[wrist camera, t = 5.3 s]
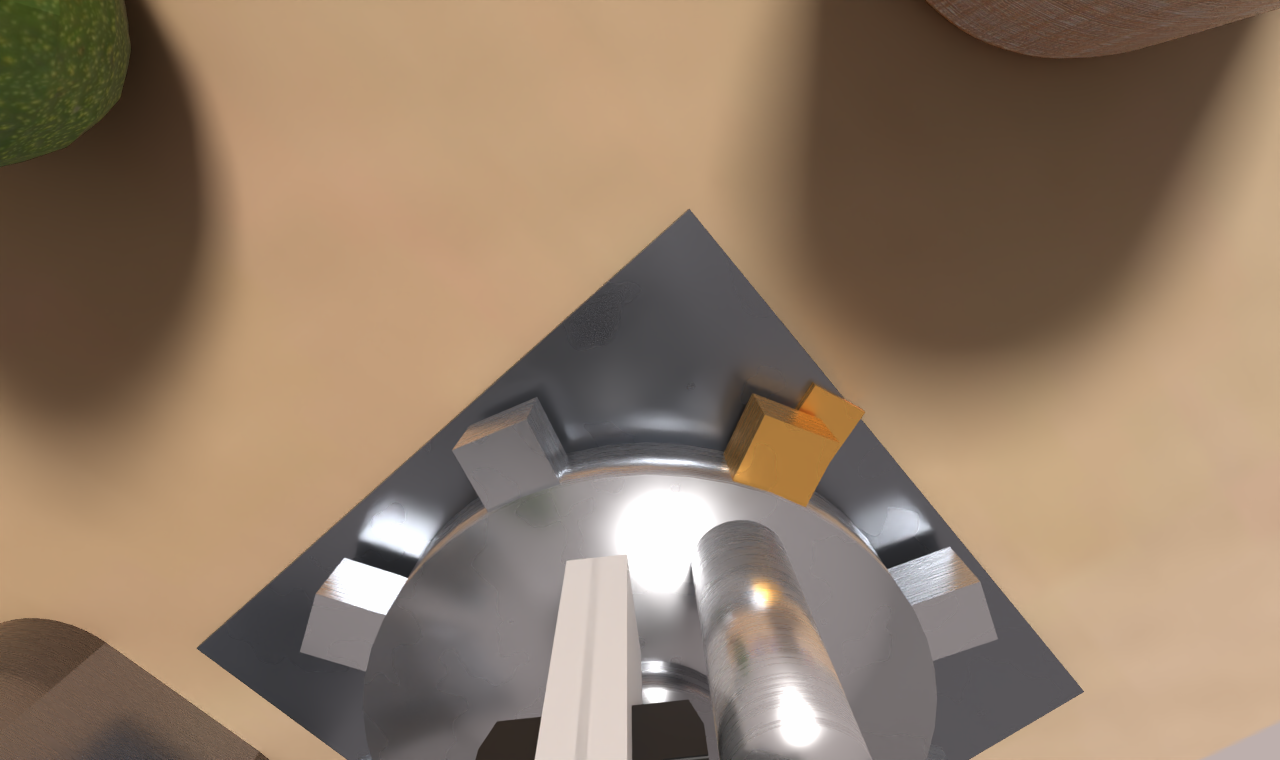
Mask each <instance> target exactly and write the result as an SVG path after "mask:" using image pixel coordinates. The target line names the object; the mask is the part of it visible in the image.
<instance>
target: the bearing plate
mask: <svg viewBox="0 0 1280 760" xmlns="http://www.w3.org/2000/svg"><path fill="white" fill-rule="evenodd" d="M752 393H754V394H756V395H759V396H762V397H764V398H767V399H769V400H772V401H775V402H777V403H780V404H783V405H785V406H788V407H790V408H793V409H796V410H798V411H801V412H804V413H806V414H809V415H811V416H814V417H817V418H819V419H821V420H822V421H823V423H824V424H825V425H826V426H827V428H828V429H829V430H830V431H831V432H832V434H833V435H834V436H835V437H836V439H837V440H838V441H839V442H840V444H839V446H838V448H837V450H836V452H835V454H834V456H833V457H832V459H831V461H830V463H829V465H828V467H827V469H826V471H825V472H824V474H823V476H822V478H821V480H820V482H819V484H818V485H817V487H816V489H815V491H816V492H818V493H819V494H821V495H822V496H823V497H824V498H826V499H827V500H828V501H829V502H830V503H832V504H833V505H834V506H835V507H837V508H838V509H839V510H840V511H841V512H843V513H844V514H845V515H846V516H847V517H848V518H849V519H850V520H851V522H852V523H853V524H854V525H855V526H856V527H857V528H858V529H859V530H860V531H861V533H862V534H863V535H864V536H865V537H866V538H867V539H868V541H869V542H870V544H871V545H872V547H873V549H874V550H875V552H876V553H877V555H878V556H879V558H880V559H881V561H882V562H883V564H884V565H885V567H886V568H887V569H889V568H892V567H894V566H897V565H900V564H903V563H906V562H908V561H911V560H914V559H917V558H920V557H922V556H925V555H928V554H931V553H933V552H936V551H939V550H942V549H945V548H947V547H950V548H951V549H952V550H953V551H954V552H955V553H956V554H957V556H958V557H959V558H960V559H961V560H962V561H963V562H964V564H965V565H966V566H967V567H968V568H969V569H970V570H971V571H972V573H973V574H974V575H975V576H976V577H977V578H978V579H979V581H980V582H981V585H982V589H983V592H984V595H985V598H986V602H987V605H988V608H989V611H990V615H991V618H992V621H993V624H994V628H995V631H996V634H997V638H998V639H997V640H994V641H991V642H988V643H985V644H982V645H979V646H976V647H973V648H970V649H967V650H964V651H961V652H958V653H955V654H952V655H949V656H946V657H943V658H940V659H938V660H935V661H933V664H934V668H935V678H936V690H937V707H936V718H935V729H934V733H933V736H932V740H931V744H933V745H936V746H939V747H941V748H942V750H943V752H944V753H945V755H946V757H947V759H948V760H969V759H971V758H972V757H974V756H976V755H978V754H979V753H981V752H983V751H984V750H986V749H988V748H989V747H991V746H993V745H995V744H996V743H998V742H1000V741H1001V740H1003V739H1005V738H1006V737H1008V736H1010V735H1012V734H1013V733H1015V732H1017V731H1018V730H1020V729H1022V728H1023V727H1025V726H1027V725H1029V724H1030V723H1032V722H1034V721H1035V720H1037V719H1039V718H1040V717H1042V716H1044V715H1045V714H1047V713H1049V712H1051V711H1052V710H1054V709H1056V708H1057V707H1059V706H1061V705H1062V704H1064V703H1066V702H1068V701H1069V700H1071V699H1073V698H1074V697H1076V696H1078V695H1079V694H1081V693H1083V692H1084V691H1083V690H1082V689H1081V687H1080V686H1079V685H1078V684H1077V682H1076V681H1075V680H1074V679H1073V678H1072V676H1071V675H1070V674H1069V673H1068V671H1067V670H1066V669H1065V668H1064V667H1063V665H1062V664H1061V663H1060V662H1059V660H1058V659H1057V658H1056V657H1055V656H1054V654H1053V653H1052V652H1051V651H1050V649H1049V648H1048V647H1047V646H1046V645H1045V643H1044V642H1043V641H1042V640H1041V638H1040V637H1039V636H1038V635H1037V634H1036V632H1035V631H1034V630H1033V629H1032V627H1031V626H1030V625H1029V624H1028V623H1027V621H1026V620H1025V619H1024V618H1023V616H1022V615H1021V614H1020V613H1019V612H1018V610H1017V609H1016V608H1015V607H1014V605H1013V604H1012V603H1011V602H1010V601H1009V599H1008V598H1007V597H1006V596H1005V594H1004V593H1003V592H1002V591H1001V590H1000V588H999V587H998V586H997V585H996V583H995V582H994V581H993V580H992V579H991V577H990V576H989V575H988V574H987V572H986V571H985V570H984V569H983V568H982V566H981V565H980V564H979V563H978V561H977V560H976V559H975V558H974V557H973V555H972V554H971V553H970V552H969V550H968V549H967V548H966V547H965V546H964V544H963V543H962V542H961V541H960V539H959V538H958V537H957V536H956V535H955V533H954V532H953V531H952V530H951V528H950V527H949V526H948V525H947V524H946V522H945V521H944V520H943V519H942V517H941V516H940V515H939V514H938V513H937V511H936V510H935V509H934V508H933V506H932V505H931V504H930V503H929V502H928V500H927V499H926V498H925V497H924V495H923V494H922V493H921V492H920V491H919V489H918V488H917V487H916V486H915V484H914V483H913V482H912V481H911V480H910V478H909V477H908V476H907V475H906V473H905V472H904V471H903V470H902V469H901V467H900V466H899V465H898V464H897V462H896V461H895V460H894V459H893V458H892V456H891V455H890V454H889V453H888V451H887V450H886V449H885V448H884V447H883V445H882V444H881V443H880V442H879V440H878V439H877V438H876V437H875V436H874V434H873V433H872V432H871V431H870V429H869V428H868V427H867V426H866V425H865V423H864V422H863V421H862V420H861V418H862V416H863V415H864V413H865V412H864V411H863V410H862V409H861V408H859V407H858V406H856V405H854V404H852V403H850V402H849V401H847V400H845V399H844V398H843V396H842V395H841V394H840V393H839V392H838V390H837V389H836V388H835V387H834V385H833V384H832V383H831V382H830V381H829V379H828V378H827V377H826V376H825V374H824V373H823V372H822V371H821V370H820V368H819V367H818V366H817V365H816V363H815V362H814V361H813V360H812V359H811V357H810V356H809V355H808V354H807V352H806V351H805V350H804V349H803V348H802V346H801V345H800V344H799V343H798V341H797V340H796V339H795V338H794V337H793V335H792V334H791V333H790V332H789V330H788V329H787V328H786V327H785V326H784V324H783V323H782V322H781V321H780V319H779V318H778V317H777V316H776V315H775V313H774V312H773V311H772V310H771V308H770V307H769V306H768V305H767V304H766V302H765V301H764V300H763V299H762V297H761V296H760V295H759V294H758V293H757V291H756V290H755V289H754V288H753V286H752V285H751V284H750V283H749V282H748V280H747V279H746V278H745V277H744V275H743V274H742V273H741V272H740V271H739V269H738V268H737V267H736V266H735V264H734V263H733V262H732V261H731V260H730V258H729V257H728V256H727V255H726V253H725V252H724V251H723V250H722V248H721V247H720V246H719V245H718V244H717V242H716V241H715V240H714V239H713V237H712V236H711V235H710V234H709V233H708V231H707V230H706V229H705V228H704V226H703V225H702V224H701V223H700V222H699V220H698V219H697V218H696V217H695V215H694V214H693V213H692V212H691V211H690V209H688V210H687V211H686V212H685V213H684V214H682V215H681V216H680V217H679V218H678V219H677V220H676V221H675V222H673V223H672V224H671V225H670V226H669V227H668V228H667V229H666V230H664V231H663V232H662V233H661V234H660V235H659V236H658V237H657V238H656V239H654V240H653V241H652V242H651V243H650V244H649V245H648V246H647V247H645V248H644V249H643V250H642V251H641V252H640V253H639V254H638V255H636V256H635V257H634V258H633V259H632V260H631V261H630V262H629V263H627V264H626V265H625V266H624V267H623V268H622V269H621V270H620V271H619V272H617V273H616V274H615V275H614V276H613V277H612V278H611V279H610V280H608V281H607V282H606V283H605V284H604V285H603V286H602V287H601V288H599V289H598V290H597V291H596V292H595V293H594V294H593V295H592V296H590V297H589V298H588V299H587V300H586V301H585V302H584V303H583V304H581V305H580V306H579V307H578V308H577V309H576V310H575V311H574V312H573V313H571V314H570V315H569V316H568V317H567V318H566V319H565V320H564V321H562V322H561V323H560V324H559V325H558V326H557V327H556V328H555V329H553V330H552V331H551V332H550V333H549V334H548V335H547V336H546V337H544V338H543V339H542V340H541V341H540V342H539V343H538V344H537V345H536V346H534V347H533V348H532V349H531V350H530V351H529V352H528V353H527V354H525V355H524V356H523V357H522V358H521V359H520V360H519V361H518V362H516V363H515V364H514V365H513V366H512V367H511V368H510V369H509V370H507V371H506V372H505V373H504V374H503V375H502V376H501V377H500V378H498V379H497V380H496V381H495V382H494V383H493V384H492V385H491V386H490V387H488V388H487V389H486V390H485V391H484V392H483V393H482V394H481V395H479V396H478V397H477V398H476V399H475V400H474V401H473V402H472V403H470V404H469V405H468V406H467V407H466V408H465V409H464V410H463V411H461V412H460V413H459V414H458V415H457V416H456V417H455V418H454V419H453V420H451V421H450V422H449V423H448V424H447V425H446V426H445V427H444V428H442V429H441V430H440V431H439V432H438V433H437V434H436V435H435V436H433V437H432V438H431V439H430V440H429V441H428V442H427V443H426V444H424V445H423V446H422V447H421V448H420V449H419V450H418V451H417V452H416V453H414V454H413V455H412V456H411V457H410V458H409V459H408V460H407V461H405V462H404V463H403V464H402V465H401V466H400V467H399V468H398V469H396V470H395V471H394V472H393V473H392V474H391V475H390V476H389V477H387V478H386V479H385V480H384V481H383V482H382V483H381V484H380V485H378V486H377V487H376V488H375V489H374V490H373V491H372V492H371V493H370V494H368V495H367V496H366V497H365V498H364V499H363V500H362V501H361V502H359V503H358V504H357V505H356V506H355V507H354V508H353V509H352V510H350V511H349V512H348V513H347V514H346V515H345V516H344V517H343V518H341V519H340V520H339V521H338V522H337V523H336V524H335V525H334V526H333V527H331V528H330V529H329V530H328V531H327V532H326V533H325V534H324V535H322V536H321V537H320V538H319V539H318V540H317V541H316V542H315V543H313V544H312V545H311V546H310V547H309V548H308V549H307V550H306V551H304V552H303V553H302V554H301V555H300V556H299V557H298V558H297V559H295V560H294V561H293V562H292V563H291V564H290V565H289V566H288V567H287V568H285V569H284V570H283V571H282V572H281V573H280V574H279V575H278V576H276V577H275V578H274V579H273V580H272V581H271V582H270V583H269V584H267V585H266V586H265V587H264V588H263V589H262V590H261V591H260V592H258V593H257V594H256V595H255V596H254V597H253V598H252V599H251V600H250V601H248V602H247V603H246V604H245V605H244V606H243V607H242V608H241V609H239V610H238V611H237V612H236V613H235V614H234V615H233V616H232V617H230V618H229V619H228V620H227V621H226V622H225V623H224V624H223V625H221V626H220V627H219V628H218V629H217V630H216V631H215V632H214V633H213V634H211V635H210V636H209V637H208V638H207V639H206V640H205V641H204V642H202V643H201V644H200V645H199V646H198V647H197V649H198V650H199V651H201V652H202V653H203V654H205V655H206V656H207V657H209V658H210V659H212V660H213V661H214V662H216V663H217V664H218V665H220V666H221V667H222V668H224V669H225V670H226V671H228V672H229V673H230V674H232V675H233V676H235V677H236V678H237V679H239V680H240V681H241V682H243V683H244V684H245V685H247V686H248V687H249V688H251V689H252V690H254V691H255V692H256V693H258V694H259V695H260V696H262V697H263V698H264V699H266V700H267V701H268V702H270V703H271V704H273V705H274V706H275V707H277V708H278V709H279V710H281V711H282V712H283V713H285V714H286V715H287V716H289V717H290V718H291V719H293V720H294V721H296V722H297V723H298V724H300V725H301V726H302V727H304V728H305V729H306V730H308V731H309V732H310V733H312V734H313V735H315V736H316V737H317V738H319V739H320V740H321V741H323V742H324V743H325V744H327V745H328V746H329V747H331V748H332V749H333V750H335V751H336V752H338V753H339V754H340V755H342V756H343V757H344V758H346V759H347V760H358V759H359V758H361V757H363V756H366V755H369V754H370V750H369V747H368V743H367V740H366V733H365V725H364V716H363V694H364V678H365V674H366V671H362V670H359V669H356V668H352V667H349V666H345V665H342V664H339V663H335V662H332V661H329V660H325V659H322V658H318V657H315V656H312V655H308V654H305V653H302V652H300V650H301V646H302V642H303V639H304V635H305V631H306V628H307V624H308V620H309V617H310V613H311V609H312V606H313V602H314V599H315V595H316V593H317V592H318V590H319V589H320V588H321V587H322V585H323V584H324V583H325V581H326V580H327V579H328V578H329V576H330V575H331V574H332V573H333V571H334V570H335V569H336V568H337V566H338V565H339V564H340V563H341V561H342V560H343V559H344V558H347V559H350V560H353V561H356V562H359V563H362V564H366V565H369V566H372V567H375V568H378V569H381V570H384V571H388V572H391V573H394V574H397V575H400V576H403V577H406V578H408V577H409V575H410V573H411V572H412V570H413V568H414V567H415V565H416V563H417V562H418V560H419V559H420V557H421V555H422V554H423V552H424V550H425V549H426V547H427V546H428V545H429V543H430V542H431V541H432V540H433V539H434V538H435V536H436V535H437V534H438V533H439V532H440V531H441V529H442V528H443V527H444V526H445V525H446V523H447V522H448V521H449V520H451V519H452V518H453V517H454V516H455V515H456V514H457V513H459V512H460V511H461V510H462V509H463V508H464V507H465V506H466V505H468V504H469V503H470V502H471V501H472V500H473V499H475V498H476V497H478V494H477V493H476V491H475V489H474V487H473V486H472V484H471V482H470V481H469V479H468V477H467V475H466V474H465V472H464V470H463V468H462V467H461V465H460V463H459V462H458V460H457V458H456V456H455V455H454V453H453V451H452V450H453V448H454V447H455V445H456V444H457V443H458V441H459V440H460V438H461V437H462V435H463V434H464V433H465V431H466V430H467V428H468V427H469V426H470V425H472V424H474V423H477V422H479V421H481V420H484V419H486V418H488V417H491V416H493V415H496V414H498V413H500V412H503V411H505V410H507V409H510V408H512V407H514V406H517V405H519V404H522V403H524V402H526V401H529V400H531V399H533V398H536V397H537V398H538V400H539V402H540V404H541V406H542V408H543V410H544V411H545V413H546V415H547V417H548V419H549V421H550V423H551V425H552V427H553V429H554V431H555V433H556V435H557V437H558V439H559V441H560V442H561V444H562V446H563V448H564V450H565V452H566V454H568V453H572V452H577V451H582V450H587V449H592V448H597V447H602V446H607V445H619V444H631V443H644V442H648V443H671V444H687V445H693V446H699V447H705V448H711V449H717V450H722V451H725V450H726V448H727V445H728V443H729V441H730V439H731V437H732V435H733V433H734V431H735V429H736V426H737V424H738V422H739V420H740V418H741V416H742V414H743V412H744V410H745V408H746V405H747V403H748V401H749V399H750V397H751V395H752Z"/></svg>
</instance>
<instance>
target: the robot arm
mask: <svg viewBox="0 0 1280 760" xmlns="http://www.w3.org/2000/svg"><path fill="white" fill-rule="evenodd" d="M475 760H709V756H708V748H707V741H706V734H705V727H704V723H703V721H702V720H701V718H700V717H699V715H698V714H697V712H696V710H695V709H694V707H693V706H692V704H691V703H690V701H689V699H687V700H678V701H669V702H659V703H650V704H643V703H642V670H641V650H640V643H639V636H638V629H637V622H636V615H635V607H634V600H633V593H632V586H631V579H630V572H629V565H628V558H627V554H624V555H615V556H606V557H596V558H587V559H578V560H569V561H566V568H565V574H564V580H563V586H562V593H561V599H560V605H559V611H558V618H557V624H556V630H555V636H554V643H553V649H552V655H551V661H550V667H549V674H548V680H547V686H546V692H545V699H544V705H543V711H542V717H533V718H524V719H514V720H505V721H497V722H496V723H495V725H494V726H493V728H492V729H491V731H490V732H489V734H488V735H487V737H486V738H485V740H484V741H483V743H482V744H481V746H480V747H479V749H478V752H477V756H476V759H475Z"/></svg>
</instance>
